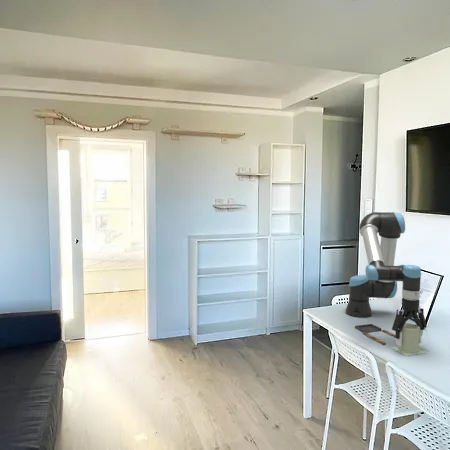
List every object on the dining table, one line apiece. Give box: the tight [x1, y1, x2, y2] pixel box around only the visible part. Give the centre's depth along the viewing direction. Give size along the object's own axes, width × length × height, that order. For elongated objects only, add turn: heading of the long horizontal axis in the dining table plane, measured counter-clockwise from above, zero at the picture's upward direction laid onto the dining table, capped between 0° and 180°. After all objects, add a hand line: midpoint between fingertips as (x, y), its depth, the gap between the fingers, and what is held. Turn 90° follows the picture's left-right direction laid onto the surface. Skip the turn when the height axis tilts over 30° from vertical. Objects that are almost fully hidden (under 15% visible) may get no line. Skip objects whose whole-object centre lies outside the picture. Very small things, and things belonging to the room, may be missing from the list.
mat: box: [390, 345, 428, 357], centre depth 189 cm, size 10×12×1 cm
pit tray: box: [354, 323, 382, 334], centre depth 217 cm, size 8×11×1 cm
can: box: [397, 322, 420, 355], centre depth 188 cm, size 9×9×12 cm
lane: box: [361, 329, 396, 346], centre depth 205 cm, size 16×14×1 cm
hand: (408, 343), depth 188 cm, fingers open, 11 cm apart
